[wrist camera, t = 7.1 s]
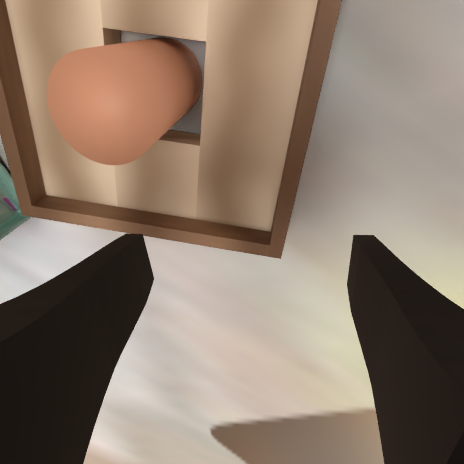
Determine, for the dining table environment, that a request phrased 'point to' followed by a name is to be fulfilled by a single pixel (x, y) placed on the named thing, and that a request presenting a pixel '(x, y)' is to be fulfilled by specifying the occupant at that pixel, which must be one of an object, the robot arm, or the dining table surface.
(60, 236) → the dining table surface
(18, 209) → the lunch bag
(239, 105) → the walnut box
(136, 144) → the peg
